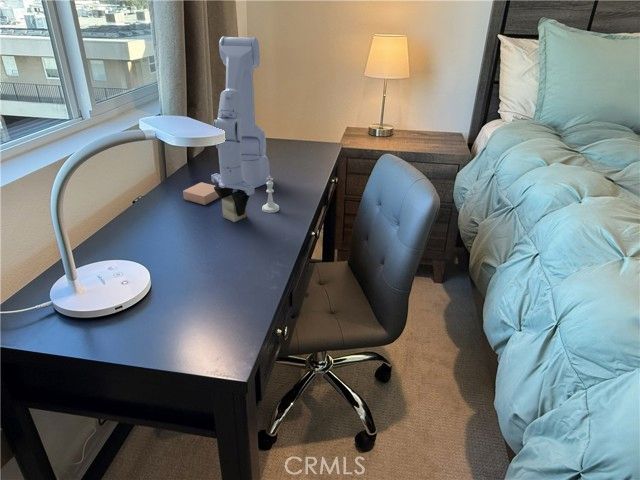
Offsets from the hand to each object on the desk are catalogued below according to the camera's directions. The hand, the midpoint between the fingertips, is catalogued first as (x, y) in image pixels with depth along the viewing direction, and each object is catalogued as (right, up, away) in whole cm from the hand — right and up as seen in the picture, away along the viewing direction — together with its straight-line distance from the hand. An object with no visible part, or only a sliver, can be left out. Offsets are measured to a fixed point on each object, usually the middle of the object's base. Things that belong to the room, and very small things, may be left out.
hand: (234, 212), depth 122 cm
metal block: (0, -1, +1) cm, 1 cm away
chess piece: (+9, +1, +6) cm, 11 cm away
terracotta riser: (-12, +5, +12) cm, 17 cm away
